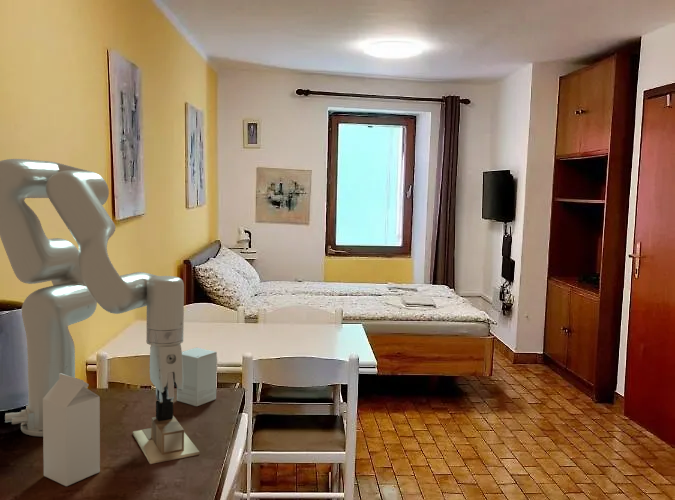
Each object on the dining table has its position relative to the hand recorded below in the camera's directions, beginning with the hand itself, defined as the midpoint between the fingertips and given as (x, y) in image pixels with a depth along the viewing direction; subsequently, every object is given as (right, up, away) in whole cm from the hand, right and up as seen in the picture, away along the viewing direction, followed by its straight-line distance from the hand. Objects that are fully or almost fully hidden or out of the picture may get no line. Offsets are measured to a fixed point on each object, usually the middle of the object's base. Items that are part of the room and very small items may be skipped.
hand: (164, 418), depth 129 cm
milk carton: (-13, -7, -15) cm, 21 cm away
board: (0, -5, 0) cm, 5 cm away
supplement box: (+1, -3, +26) cm, 27 cm away
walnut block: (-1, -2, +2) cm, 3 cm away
